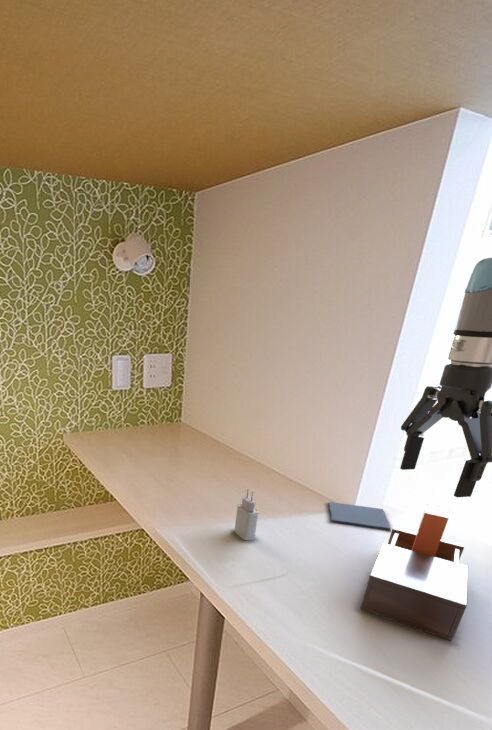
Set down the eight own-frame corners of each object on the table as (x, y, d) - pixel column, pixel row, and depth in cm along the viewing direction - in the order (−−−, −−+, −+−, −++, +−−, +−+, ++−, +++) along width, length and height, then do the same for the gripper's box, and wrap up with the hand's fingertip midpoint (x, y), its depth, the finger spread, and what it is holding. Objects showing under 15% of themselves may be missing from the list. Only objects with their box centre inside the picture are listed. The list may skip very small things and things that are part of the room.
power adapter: (244, 540, 104) (251, 495, 99) (233, 530, 109) (238, 486, 104) (255, 538, 105) (262, 493, 100) (244, 528, 110) (249, 485, 105)
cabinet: (374, 573, 93) (383, 542, 89) (455, 598, 85) (468, 566, 82) (360, 608, 82) (370, 575, 79) (451, 641, 74) (466, 605, 71)
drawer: (389, 541, 103) (395, 520, 101) (456, 559, 96) (464, 537, 94) (376, 575, 90) (383, 552, 88) (452, 599, 83) (462, 574, 81)
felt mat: (382, 510, 121) (382, 509, 120) (390, 530, 110) (390, 528, 110) (328, 503, 125) (329, 501, 124) (331, 521, 114) (331, 519, 114)
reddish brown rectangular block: (409, 557, 95) (426, 504, 89) (430, 563, 93) (449, 509, 87) (406, 568, 91) (424, 512, 85) (428, 574, 89) (448, 518, 83)
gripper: (399, 355, 83) (372, 460, 92) (521, 375, 61) (470, 511, 70) (434, 354, 84) (404, 458, 93) (567, 375, 62) (510, 508, 71)
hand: (432, 481), depth 82 cm, fingers open, 13 cm apart
